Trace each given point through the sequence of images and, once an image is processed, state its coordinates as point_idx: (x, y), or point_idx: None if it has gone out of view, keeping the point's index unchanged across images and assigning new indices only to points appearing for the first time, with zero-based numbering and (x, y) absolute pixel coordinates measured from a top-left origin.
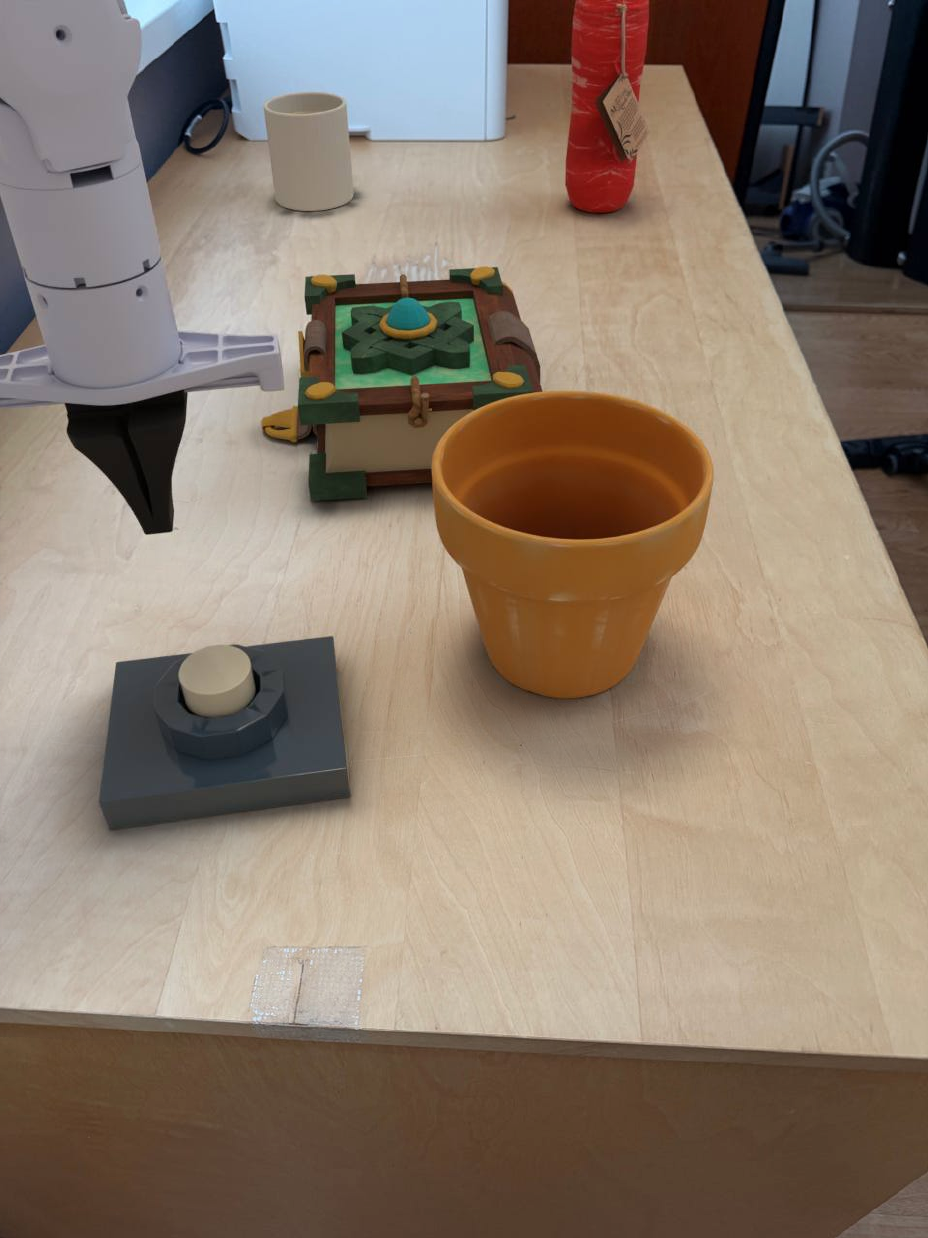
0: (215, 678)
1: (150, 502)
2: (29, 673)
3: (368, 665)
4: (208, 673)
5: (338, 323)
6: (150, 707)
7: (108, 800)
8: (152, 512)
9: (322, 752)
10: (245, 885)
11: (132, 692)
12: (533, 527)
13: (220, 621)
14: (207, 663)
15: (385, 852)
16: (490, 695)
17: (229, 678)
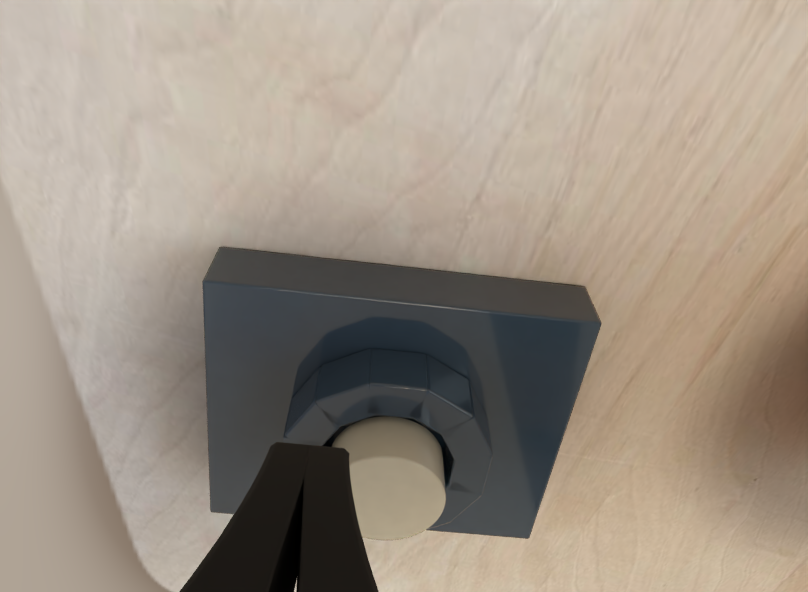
0: (384, 517)
1: (289, 588)
2: (26, 151)
3: (634, 302)
4: (374, 505)
5: None
6: (271, 393)
7: (223, 512)
8: (294, 581)
9: (506, 513)
10: (378, 552)
11: (239, 356)
12: None
13: (403, 109)
14: (374, 489)
15: (532, 553)
16: (773, 403)
17: (406, 521)
